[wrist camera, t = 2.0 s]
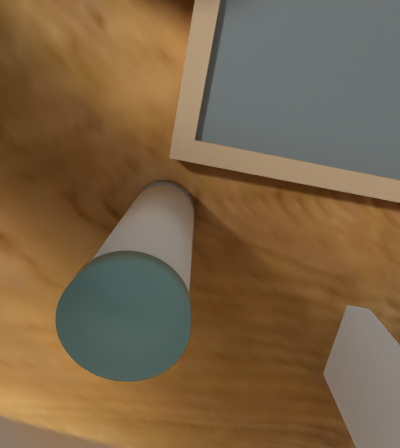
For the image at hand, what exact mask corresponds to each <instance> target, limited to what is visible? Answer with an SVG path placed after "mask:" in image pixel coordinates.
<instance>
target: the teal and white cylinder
mask: <svg viewBox="0 0 400 448" xmlns="http://www.w3.org/2000/svg"><path fill="white" fill-rule="evenodd" d="M194 214H195V206H194V201H193V199H192V196H191V195H190V193H189V192H188V191H187V189H186V188H184V187H183V186H182V185H180V184H178V183H176V182H174V181H169V180H160V181H155V182H153V183H151V184H149V185H147V186H146V187H145V188H144V189H143V190H142V191H141V193H140V194H139V195H138V197H137V198H136V199H135V201H134V202H133V204H132V205H131V206H130V208H129V209H128V210H127V212H126V213H125V215H124V216H123V217H122V219H121V220H120V221H119V223H118V224H117V226H116V227H115V228H114V230H113V231H112V232H111V234H110V235H109V237H108V238H107V239H106V241H105V242H104V243H103V245H102V246H101V248H100V249H99V250H98V252H97V253H96V254H95V256H94V257H93V259H92V260H91V261H90V262H88V263H87V264H86V265H85V266H84V267H83V268H82V269H81V270H80V271H79V272H78V273H77V275H76V276H75V277H74V279H73V280H72V281H71V283H70V284H69V285H68V287H67V288H66V289H65V291H64V292H63V294H62V296H61V298H60V300H59V303H58V306H57V310H56V328H57V333H58V336H59V339H60V341H61V343H62V345H63V347H64V348H65V350H66V352H67V353H68V354H69V355H70V356H71V358H72V359H73V360H74V361H75V362H77V363H78V364H79V365H80V366H82V367H83V368H84V369H86V370H88V371H89V372H91V373H93V374H95V375H98V376H100V377H103V378H106V379H110V380H115V381H140V380H144V379H148V378H151V377H154V376H157V375H159V374H161V373H163V372H164V371H166V370H167V369H169V368H170V367H171V366H172V365H174V364H175V363H176V362H177V360H178V359H179V358H180V357H181V355H182V354H183V352H184V350H185V348H186V346H187V344H188V340H189V336H190V328H191V300H190V295H189V290H190V275H191V259H192V244H193V229H194Z"/></svg>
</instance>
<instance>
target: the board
mask: <svg viewBox="0 0 400 448" xmlns="http://www.w3.org/2000/svg"><path fill="white" fill-rule="evenodd" d="M169 158H171V159H176V160H181V161H186V162H191V163H196V164H202V165H207V166H212V167H217V168H222V169H228V170H233V171H238V172H243V173H248V174H253V175H259V176H264V177H269V178H274V179H279V180H285V181H290V182H295V183H300V184H305V185H310V186H316V187H321V188H326V189H331V190H336V191H341V192H347V193H352V194H357V195H362V196H367V197H373V198H378V199H383V200H388V201H393V202H398V203H400V0H195V2H194V9H193V15H192V21H191V27H190V33H189V39H188V45H187V51H186V57H185V63H184V69H183V75H182V82H181V88H180V94H179V100H178V106H177V112H176V118H175V124H174V130H173V136H172V142H171V148H170V154H169Z"/></svg>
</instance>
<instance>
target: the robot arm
mask: <svg viewBox="0 0 400 448" xmlns="http://www.w3.org/2000/svg"><path fill="white" fill-rule="evenodd" d="M323 375H324V377H325V380H326V382H327V384H328V386H329V389H330V391H331V393H332V395H333V398H334V400H335V402H336V404H337V407H338V409H339V411H340V413H341V416H342V418H343V420H344V422H345V424H346V427H347V429H348V431H349V433H350V436H351V438H352V440H353V442H354V445H355V447H356V448H400V345H399V344H398V342H397V341H396V340H395V339H394V338H393V336H392V335H391V334H390V333H389V331H388V330H387V329H386V328H385V327H384V325H383V324H382V323H381V322H380V321H379V319H378V318H377V317H376V316H375V315H374V313H373V312H372V311H371V310H370V309H367V308H362V307H356V306H351V305H347V307H346V310H345V313H344V315H343V318H342V321H341V324H340V327H339V330H338V332H337V335H336V338H335V341H334V344H333V347H332V349H331V352H330V355H329V358H328V361H327V364H326V366H325V369H324V372H323Z"/></svg>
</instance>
